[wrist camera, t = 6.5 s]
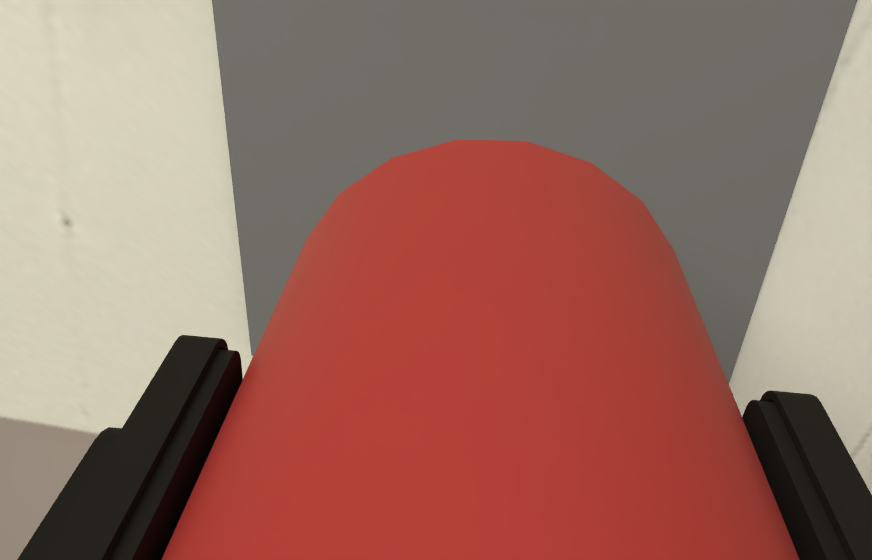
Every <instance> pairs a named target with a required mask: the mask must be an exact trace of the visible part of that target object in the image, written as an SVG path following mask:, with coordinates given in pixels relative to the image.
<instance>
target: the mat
mask: <svg viewBox="0 0 872 560" xmlns="http://www.w3.org/2000/svg"><path fill="white" fill-rule="evenodd" d="M856 2H857V0H212V4H213V13H214V22H215V31H216V40H217V49H218V58H219V67H220V76H221V85H222V94H223V103H224V112H225V121H226V130H227V139H228V148H229V156H230V165H231V174H232V183H233V192H234V201H235V210H236V219H237V228H238V237H239V246H240V255H241V264H242V273H243V282H244V291H245V300H246V309H247V318H248V327H249V336H250V345H251V354H252V355H253V356H254V354H255V352H256V349H257V347H258V345H259V343H260V341H261V338H262V336H263V334H264V332H265V329H266V327H267V325H268V323H269V321H270V318H271V316H272V314H273V312H274V310H275V307H276V305H277V303H278V301H279V299H280V296H281V294H282V292H283V290H284V287H285V285H286V283H287V281H288V279H289V276H290V274H291V272H292V270H293V268H294V265H295V263H296V261H297V259H298V257H299V254H300V252H301V250H302V248H303V245H304V243H305V241H306V239H307V237H308V236H309V235H310V233H311V232H312V231H313V229H314V228H315V226H316V225H317V224H318V222H319V221H320V220H321V218H322V217H323V215H324V214H325V213H326V211H327V210H328V209H329V207H330V206H331V204H332V203H333V202H334V200H335V199H336V198H337V196H338V195H339V193H341V192H342V191H344V190H345V189H347V188H348V187H349V186H351V185H352V184H354V183H355V182H357V181H358V180H360V179H361V178H363V177H364V176H366V175H367V174H369V173H370V172H372V171H373V170H375V169H376V168H378V167H379V166H381V165H382V164H383V163H385V162H386V161H388V160H389V159H391V158H394V157H397V156H401V155H404V154H408V153H411V152H415V151H418V150H422V149H425V148H429V147H432V146H436V145H439V144H443V143H446V142H450V141H453V140H499V141H528V142H531V143H534V144H537V145H540V146H543V147H546V148H549V149H552V150H555V151H558V152H560V153H563V154H566V155H569V156H572V157H575V158H578V159H581V160H584V161H587V162H590V163H592V164H594V165H595V166H596V167H598V168H599V169H600V170H602V171H603V172H604V173H606V174H607V175H608V176H610V177H611V178H612V179H614V180H615V181H616V182H618V183H619V184H620V185H622V186H623V187H624V188H626V189H627V190H628V191H630V192H631V193H632V194H634V195H635V196H636V197H638V198H639V199H640V200H642V201H643V203H644V204H645V206H646V207H647V209H648V210H649V212H650V214H651V215H652V217H653V218H654V220H655V221H656V223H657V224H658V226H659V228H660V229H661V231H662V232H663V234H664V235H665V237H666V238H667V240H668V242H669V243H670V245H671V246H672V248H673V249H674V251H675V254H676V256H677V259H678V261H679V264H680V266H681V268H682V271H683V273H684V276H685V278H686V281H687V283H688V286H689V288H690V291H691V293H692V296H693V298H694V301H695V303H696V305H697V308H698V310H699V313H700V315H701V318H702V320H703V323H704V325H705V328H706V330H707V333H708V335H709V338H710V340H711V342H712V345H713V347H714V350H715V352H716V355H717V357H718V360H719V362H720V365H721V367H722V370H723V372H724V374H725V377H726V379H727V382H728V384H729V381H730V378H731V375H732V372H733V369H734V366H735V363H736V360H737V357H738V354H739V351H740V348H741V345H742V342H743V339H744V336H745V333H746V331H747V328H748V325H749V322H750V319H751V316H752V313H753V310H754V307H755V304H756V301H757V298H758V295H759V292H760V289H761V286H762V283H763V280H764V277H765V274H766V271H767V268H768V265H769V262H770V259H771V256H772V253H773V250H774V247H775V244H776V241H777V238H778V235H779V232H780V229H781V226H782V223H783V220H784V217H785V214H786V211H787V208H788V205H789V202H790V199H791V196H792V193H793V190H794V187H795V184H796V181H797V178H798V175H799V172H800V169H801V166H802V163H803V160H804V157H805V154H806V151H807V148H808V145H809V142H810V139H811V136H812V133H813V130H814V127H815V124H816V121H817V118H818V115H819V112H820V109H821V106H822V103H823V100H824V97H825V94H826V92H827V89H828V86H829V83H830V80H831V77H832V74H833V71H834V68H835V65H836V62H837V59H838V56H839V53H840V50H841V47H842V44H843V41H844V38H845V35H846V32H847V29H848V26H849V23H850V20H851V17H852V14H853V11H854V8H855V5H856Z"/></svg>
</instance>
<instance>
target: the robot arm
mask: <svg viewBox="0 0 872 560" xmlns="http://www.w3.org/2000/svg"><path fill="white" fill-rule="evenodd" d="M242 380H243V378H242V367H241V358H240V354H239V352H238V351H231V350H228V347H227V343H226V341H225V340H223V339H219V338H208V337H198V336H187V335H182V336H180V337H179V338H178V339H177V340H176V341H175V343H174V345H173V346H172V348H171V349H170V351H169V353H168V354H167V356H166V358H165V359H164V361H163V362H162V364H161V366H160V367H159V369H158V371H157V372H156V374H155V376H154V377H153V379H152V380H151V382H150V384H149V385H148V387H147V389H146V390H145V392H144V393H143V395H142V397H141V398H140V400H139V402H138V403H137V405H136V407H135V408H134V410H133V411H132V413H131V415H130V416H129V418H128V420H127V421H126V423H125V424H124V426H123V428H110V427H109V428H107V429H105V430H104V431H102V432H101V433H100V434H99V435H98V437H97V438H96V439H95V440H94V442H93V443H92V445H91V447H90V448H89V450H88V451H87V453H86V454H85V456H84V457H83V459H82V460H81V462H80V463H79V465H78V467H77V468H76V470H75V471H74V473H73V474H72V476H71V477H70V479H69V481H68V482H67V484H66V485H65V487H64V488H63V490H62V491H61V493H60V494H59V496H58V498H57V499H56V501H55V502H54V504H53V505H52V507H51V508H50V510H49V512H48V513H47V515H46V516H45V518H44V519H43V521H42V522H41V524H40V526H39V527H38V529H37V530H36V532H35V533H34V535H33V536H32V538H31V539H30V541H29V543H28V544H27V546H26V547H25V549H24V550H23V552H22V553H21V555H20V556H19V558H18V560H161V559H162V557H163V555H164V553H165V551H166V548H167V546H168V544H169V542H170V540H171V537H172V535H173V533H174V531H175V528H176V526H177V524H178V522H179V520H180V517H181V515H182V513H183V511H184V509H185V506H186V504H187V502H188V500H189V498H190V495H191V493H192V491H193V489H194V486H195V484H196V482H197V480H198V478H199V475H200V473H201V471H202V469H203V467H204V464H205V462H206V460H207V458H208V456H209V453H210V451H211V449H212V447H213V444H214V442H215V440H216V438H217V436H218V433H219V431H220V429H221V427H222V425H223V422H224V420H225V418H226V416H227V414H228V411H229V409H230V407H231V405H232V402H233V400H234V398H235V396H236V394H237V391H238V389H239V387H240V385H241V383H242ZM742 419H743V421H744V424H745V426H746V429H747V431H748V434H749V436H750V439H751V441H752V444H753V446H754V448H755V451H756V453H757V456H758V458H759V461H760V463H761V466H762V468H763V471H764V473H765V476H766V478H767V481H768V483H769V485H770V488H771V490H772V493H773V495H774V498H775V500H776V503H777V505H778V508H779V510H780V513H781V515H782V517H783V520H784V522H785V525H786V527H787V530H788V532H789V535H790V537H791V540H792V542H793V545H794V547H795V550H796V552H797V554H798V557H799V559H800V560H872V495H871V493H870V491H869V489H868V488H867V486H866V484H865V482H864V480H863V479H862V477H861V475H860V473H859V471H858V469H857V468H856V466H855V464H854V462H853V460H852V458H851V457H850V455H849V453H848V451H847V449H846V448H845V446H844V444H843V442H842V440H841V438H840V437H839V435H838V433H837V431H836V429H835V427H834V426H833V424H832V422H831V420H830V418H829V416H828V415H827V413H826V411H825V409H824V407H823V406H822V404H821V402H820V401H819V399H818V398H817V397H816V396H814V395H811V394H800V393H790V392H779V391H767V392H766V393H765V394H764V395H763V396H762V398H761V400H760V401H758V400H752V401H750V402H749V403H748V405H747V407H746V409H745V412H744V414H743V417H742Z"/></svg>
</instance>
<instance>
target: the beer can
mask: <svg viewBox="0 0 872 560" xmlns="http://www.w3.org/2000/svg"><path fill="white" fill-rule="evenodd" d="M161 560H800V559H799V557H798V554H797V552H796V550H795V547H794V545H793V542H792V540H791V537H790V535H789V532H788V530H787V527H786V525H785V522H784V520H783V517H782V515H781V513H780V510H779V508H778V505H777V503H776V500H775V498H774V495H773V493H772V490H771V488H770V485H769V483H768V481H767V478H766V476H765V473H764V471H763V468H762V466H761V463H760V461H759V458H758V456H757V453H756V451H755V448H754V446H753V444H752V441H751V439H750V436H749V434H748V431H747V429H746V426H745V424H744V421H743V419H742V416H741V414H740V411H739V409H738V407H737V404H736V402H735V399H734V397H733V394H732V392H731V389H730V387H729V384H728V382H727V379H726V377H725V374H724V372H723V370H722V367H721V365H720V362H719V360H718V357H717V355H716V352H715V350H714V347H713V345H712V342H711V340H710V338H709V335H708V333H707V330H706V328H705V325H704V323H703V320H702V318H701V315H700V313H699V310H698V308H697V305H696V303H695V301H694V298H693V296H692V293H691V291H690V288H689V286H688V283H687V281H686V278H685V276H684V273H683V271H682V268H681V266H680V264H679V261H678V259H677V256H676V254H675V251H674V249H673V248H672V246H671V245H670V243H669V242H668V240H667V238H666V237H665V235H664V234H663V232H662V231H661V229H660V228H659V226H658V224H657V223H656V221H655V220H654V218H653V217H652V215H651V214H650V212H649V210H648V209H647V207H646V206H645V204H644V203H643V201H642V200H640V199H639V198H638V197H636V196H635V195H634V194H632V193H631V192H630V191H628V190H627V189H626V188H624V187H623V186H622V185H620V184H619V183H618V182H616V181H615V180H614V179H612V178H611V177H610V176H608V175H607V174H606V173H604V172H603V171H602V170H600V169H599V168H598V167H596V166H595V165H594V164H592V163H590V162H587V161H584V160H581V159H578V158H575V157H572V156H569V155H566V154H563V153H560V152H558V151H555V150H552V149H549V148H546V147H543V146H540V145H537V144H534V143H531V142H528V141H499V140H453V141H450V142H446V143H443V144H439V145H436V146H432V147H429V148H425V149H422V150H418V151H415V152H411V153H408V154H404V155H401V156H397V157H394V158H391V159H389V160H388V161H386V162H385V163H383V164H382V165H381V166H379V167H378V168H376V169H375V170H373V171H372V172H370V173H369V174H367V175H366V176H364V177H363V178H361V179H360V180H358V181H357V182H355V183H354V184H352V185H351V186H349V187H348V188H347V189H345V190H344V191H342V192H341V193H339V195H338V196H337V198H336V199H335V200H334V202H333V203H332V204H331V206H330V207H329V209H328V210H327V211H326V213H325V214H324V215H323V217H322V218H321V220H320V221H319V222H318V224H317V225H316V226H315V228H314V229H313V231H312V232H311V233H310V235H309V236H308V237H307V239H306V241H305V243H304V245H303V248H302V250H301V252H300V254H299V257H298V259H297V261H296V263H295V265H294V268H293V270H292V272H291V274H290V276H289V279H288V281H287V283H286V285H285V287H284V290H283V292H282V294H281V296H280V299H279V301H278V303H277V305H276V307H275V310H274V312H273V314H272V316H271V318H270V321H269V323H268V325H267V327H266V329H265V332H264V334H263V336H262V338H261V341H260V343H259V345H258V347H257V349H256V352H255V354H254V356H253V358H252V360H251V363H250V365H249V367H248V369H247V372H246V374H245V376H244V378H243V380H242V383H241V385H240V387H239V389H238V391H237V394H236V396H235V398H234V400H233V402H232V405H231V407H230V409H229V411H228V414H227V416H226V418H225V420H224V422H223V425H222V427H221V429H220V431H219V433H218V436H217V438H216V440H215V442H214V444H213V447H212V449H211V451H210V453H209V456H208V458H207V460H206V462H205V464H204V467H203V469H202V471H201V473H200V475H199V478H198V480H197V482H196V484H195V486H194V489H193V491H192V493H191V495H190V498H189V500H188V502H187V504H186V506H185V509H184V511H183V513H182V515H181V517H180V520H179V522H178V524H177V526H176V528H175V531H174V533H173V535H172V537H171V540H170V542H169V544H168V546H167V548H166V551H165V553H164V555H163V557H162V559H161Z"/></svg>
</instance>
